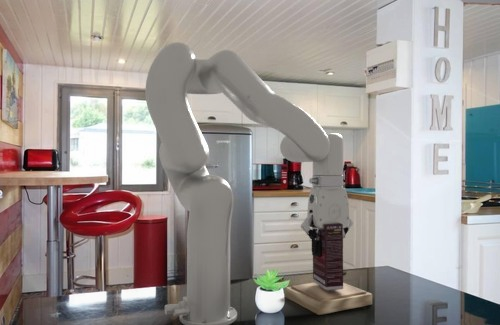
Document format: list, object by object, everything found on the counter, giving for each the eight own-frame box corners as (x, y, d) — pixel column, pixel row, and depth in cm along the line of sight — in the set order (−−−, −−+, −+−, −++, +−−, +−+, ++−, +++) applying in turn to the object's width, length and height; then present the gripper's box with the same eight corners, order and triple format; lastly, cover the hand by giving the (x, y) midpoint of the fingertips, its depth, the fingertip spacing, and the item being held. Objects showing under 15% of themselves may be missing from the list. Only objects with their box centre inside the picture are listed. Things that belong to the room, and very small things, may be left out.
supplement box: (344, 289, 98) (343, 223, 98) (326, 291, 97) (325, 224, 97) (329, 279, 106) (328, 218, 106) (312, 281, 105) (311, 219, 105)
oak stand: (318, 314, 92) (318, 301, 92) (285, 297, 104) (285, 285, 104) (372, 304, 99) (372, 291, 99) (335, 288, 111) (335, 277, 112)
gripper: (307, 183, 95) (307, 261, 94) (364, 182, 102) (364, 254, 102) (290, 182, 101) (290, 255, 101) (345, 181, 109) (344, 249, 109)
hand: (327, 254), depth 102 cm, fingers open, 5 cm apart
